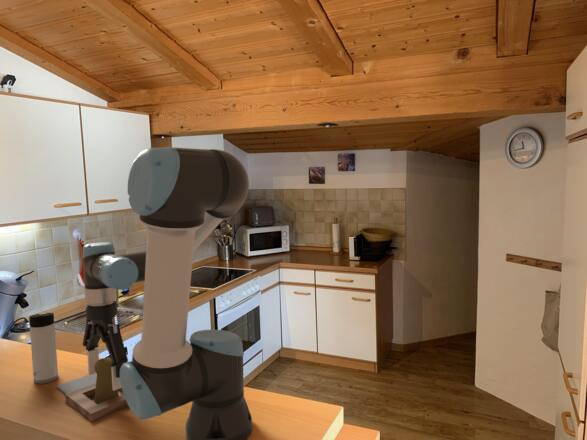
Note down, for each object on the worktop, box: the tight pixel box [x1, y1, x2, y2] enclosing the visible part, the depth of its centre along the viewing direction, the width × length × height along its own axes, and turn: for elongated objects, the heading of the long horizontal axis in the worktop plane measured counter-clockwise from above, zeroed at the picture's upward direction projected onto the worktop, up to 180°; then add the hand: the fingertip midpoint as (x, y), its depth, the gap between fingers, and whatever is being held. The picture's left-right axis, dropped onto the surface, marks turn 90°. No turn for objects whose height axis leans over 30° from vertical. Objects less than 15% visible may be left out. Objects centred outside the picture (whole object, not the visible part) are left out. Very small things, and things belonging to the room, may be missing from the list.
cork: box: [93, 357, 120, 405], centre depth 116 cm, size 6×6×11 cm
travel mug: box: [28, 312, 59, 385], centre depth 127 cm, size 6×7×20 cm
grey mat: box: [56, 373, 97, 395], centre depth 125 cm, size 9×13×1 cm
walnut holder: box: [64, 383, 129, 422], centre depth 116 cm, size 15×15×2 cm
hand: (105, 380), depth 116 cm, fingers open, 13 cm apart
